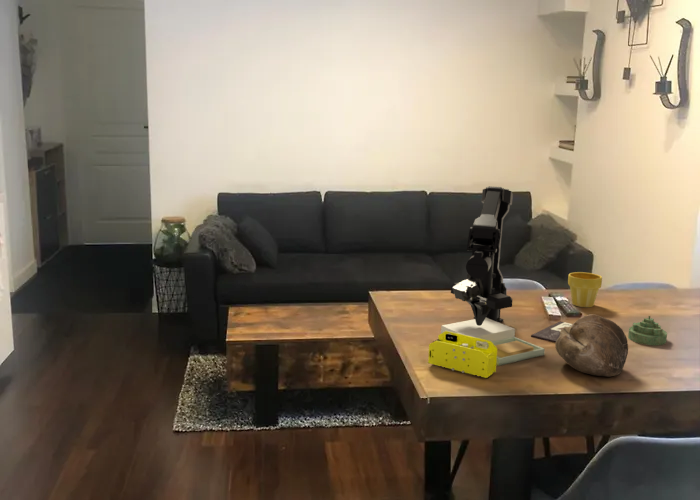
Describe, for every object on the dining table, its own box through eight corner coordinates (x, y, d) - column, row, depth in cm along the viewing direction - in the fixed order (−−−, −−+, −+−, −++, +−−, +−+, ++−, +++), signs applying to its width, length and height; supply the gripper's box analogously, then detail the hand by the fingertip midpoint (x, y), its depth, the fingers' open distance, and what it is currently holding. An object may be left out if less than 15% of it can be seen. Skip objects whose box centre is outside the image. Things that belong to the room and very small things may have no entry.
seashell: (575, 350, 177) (594, 298, 184) (534, 362, 192) (553, 314, 199) (627, 385, 180) (644, 333, 186) (583, 395, 194) (600, 346, 201)
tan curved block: (533, 347, 197) (533, 354, 197) (517, 340, 202) (516, 347, 202) (508, 353, 192) (507, 360, 192) (491, 346, 197) (491, 353, 197)
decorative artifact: (628, 332, 219) (627, 342, 210) (630, 309, 218) (630, 318, 209) (665, 337, 216) (666, 347, 207) (668, 313, 214) (669, 323, 205)
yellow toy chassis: (496, 374, 184) (498, 342, 183) (486, 381, 180) (488, 348, 178) (438, 360, 193) (440, 328, 192) (427, 366, 189) (428, 334, 187)
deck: (484, 330, 217) (485, 317, 217) (514, 342, 208) (515, 328, 207) (440, 339, 209) (441, 325, 208) (469, 352, 199) (470, 337, 198)
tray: (514, 342, 208) (514, 336, 207) (544, 354, 198) (544, 348, 198) (469, 352, 199) (470, 346, 199) (498, 365, 190) (499, 359, 190)
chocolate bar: (531, 335, 213) (560, 321, 226) (531, 338, 213) (559, 324, 226) (561, 342, 207) (589, 327, 221) (560, 345, 207) (588, 331, 221)
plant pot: (572, 298, 253) (575, 270, 251) (603, 304, 247) (606, 275, 245) (561, 305, 245) (563, 275, 243) (593, 311, 239) (596, 281, 237)
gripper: (436, 265, 207) (434, 320, 211) (483, 281, 192) (480, 340, 195) (467, 261, 213) (464, 314, 217) (515, 276, 198) (511, 333, 201)
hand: (479, 325), depth 207 cm, fingers closed
